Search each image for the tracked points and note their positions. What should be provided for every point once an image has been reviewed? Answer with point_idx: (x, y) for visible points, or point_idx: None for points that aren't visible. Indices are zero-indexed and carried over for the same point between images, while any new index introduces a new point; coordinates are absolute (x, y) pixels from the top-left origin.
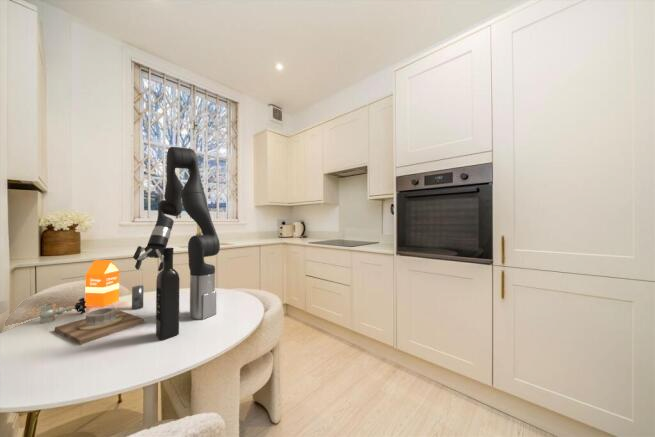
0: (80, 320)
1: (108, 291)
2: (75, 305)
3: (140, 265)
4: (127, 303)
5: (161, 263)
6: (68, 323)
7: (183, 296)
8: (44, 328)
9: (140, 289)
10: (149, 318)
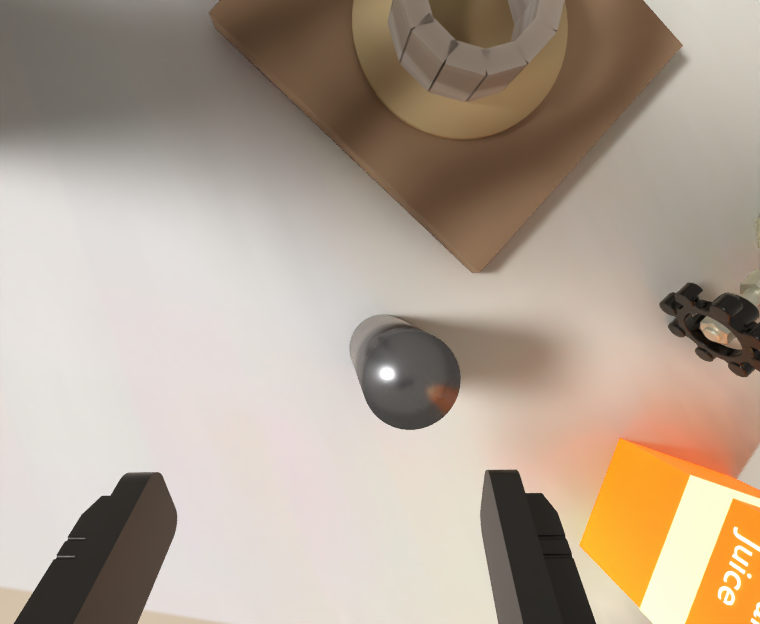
0: (602, 115)
1: (676, 515)
2: (751, 304)
3: (495, 598)
4: (495, 469)
5: (52, 603)
6: (641, 82)
7: None
8: (736, 122)
9: (371, 345)
10: (212, 101)
